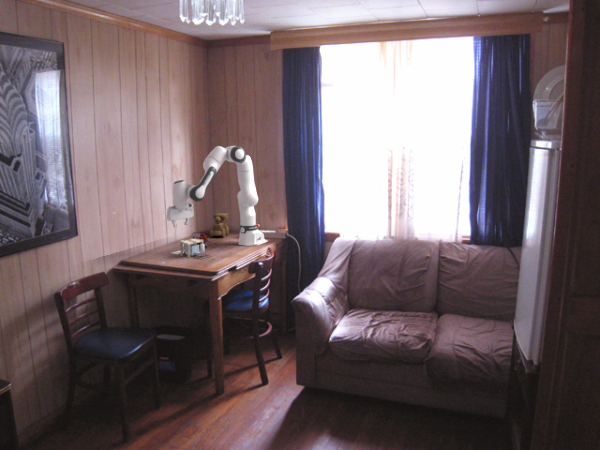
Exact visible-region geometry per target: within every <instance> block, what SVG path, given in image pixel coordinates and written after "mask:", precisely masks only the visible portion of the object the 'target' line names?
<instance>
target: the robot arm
mask: <svg viewBox="0 0 600 450" xmlns="http://www.w3.org/2000/svg"><path fill="white" fill-rule="evenodd" d="M224 162H228V163H229V162H230V163H235V164H236V170H237V171H236V172H237V180H238V184H239V189H240V191H238V193H237V196H236V197H237V198H236V199H237V203H238V209H239V217H240V218H239V220H240V221H239V223H240V224H239V230H240V231H239V238H238V241H237V243H238V245H240V246H248V247H249V246H260V245H263V244H265V243H267V242H269V241H268V240H267V239H265V235H264V232H262V231H260V229H258V228H260V224H259V223H258V224H257V220H256V219H257V213H256V211H255V207H254V206H256V205H258V202H259V196H258V193H257V189H256V188H257V187H256V184H255V178H254V177H255V175H254V167H253V166H254V165H253V161H252V159H251V156H249V155H248V154H246V151H245V149H244V148H243V147H241V146H239V145H230V146H229V145H228V146H225V147H223V146H220V145H217V146H215V147H214V148H213V149H212V150H211V151H210V152H209V154H208V155H207V156H206V157H205V159H204V160H203V164H202V167H203V170H204V175H203V176H202V178H201V179H200V181H199V183H198V184H197V185H195V184H191V183H189V182H187V181H186V180H183V179H181V180H176V181H174V182H173V184H172V197H173V198H172V206H168V207H167V208H166V209H167V212H166V220H167V221H169V222H171V223H172V225H173V226H172V227H173V228H177V227H178V225H177V223H176V221H178V220H179V221H180V220H185V222H184V225H185V226H188V225H189V221H190V219H191V218H194V215H195V212H194V204H193V203H190V202H188V200H192V201H194V202H201V201H203V200H204V199H205V197H206V194H207V191H208V188H210V186H211V183H212V182H213V180H214V178H215V176H216V174H217V173H218V171H219V169H220V168H221V167H222V165H223V163H224ZM187 199H188V200H187Z"/></svg>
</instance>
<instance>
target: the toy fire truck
mask: <svg viewBox="0 0 600 450" xmlns="http://www.w3.org/2000/svg"><path fill="white" fill-rule="evenodd" d="M191 236H192V239H195V238H196V239H201V240H203V244H204V247H205V248H206V247H208V246H209V240H208V237H207V235H206V234H205V233H204V232H202V233H201V232H192V233H191ZM196 244H197V245H199V249H200V244H201V242H198V243H196Z"/></svg>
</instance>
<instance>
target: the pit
mask: <svg viewBox="0 0 600 450" xmlns="http://www.w3.org/2000/svg"><path fill="white" fill-rule="evenodd" d="M211 256H212V257H213V255H212V254H206V253H205V255H198V256H197V255H196V256H194V259H196V258H197V260H204V259H207V257H208V258H211Z"/></svg>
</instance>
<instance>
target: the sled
mask: <svg viewBox="0 0 600 450" xmlns="http://www.w3.org/2000/svg"><path fill="white" fill-rule="evenodd" d="M181 241H185V240H184V239H180V240H179V243H180V242H181ZM205 248H206V247H204V244H200V248H199V245H196V244H190V256H197V255H198V256H201V255H205V254H206V253H205V252H206V249H205ZM183 252H185V253H184V254H185V255H187V244H183Z"/></svg>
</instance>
